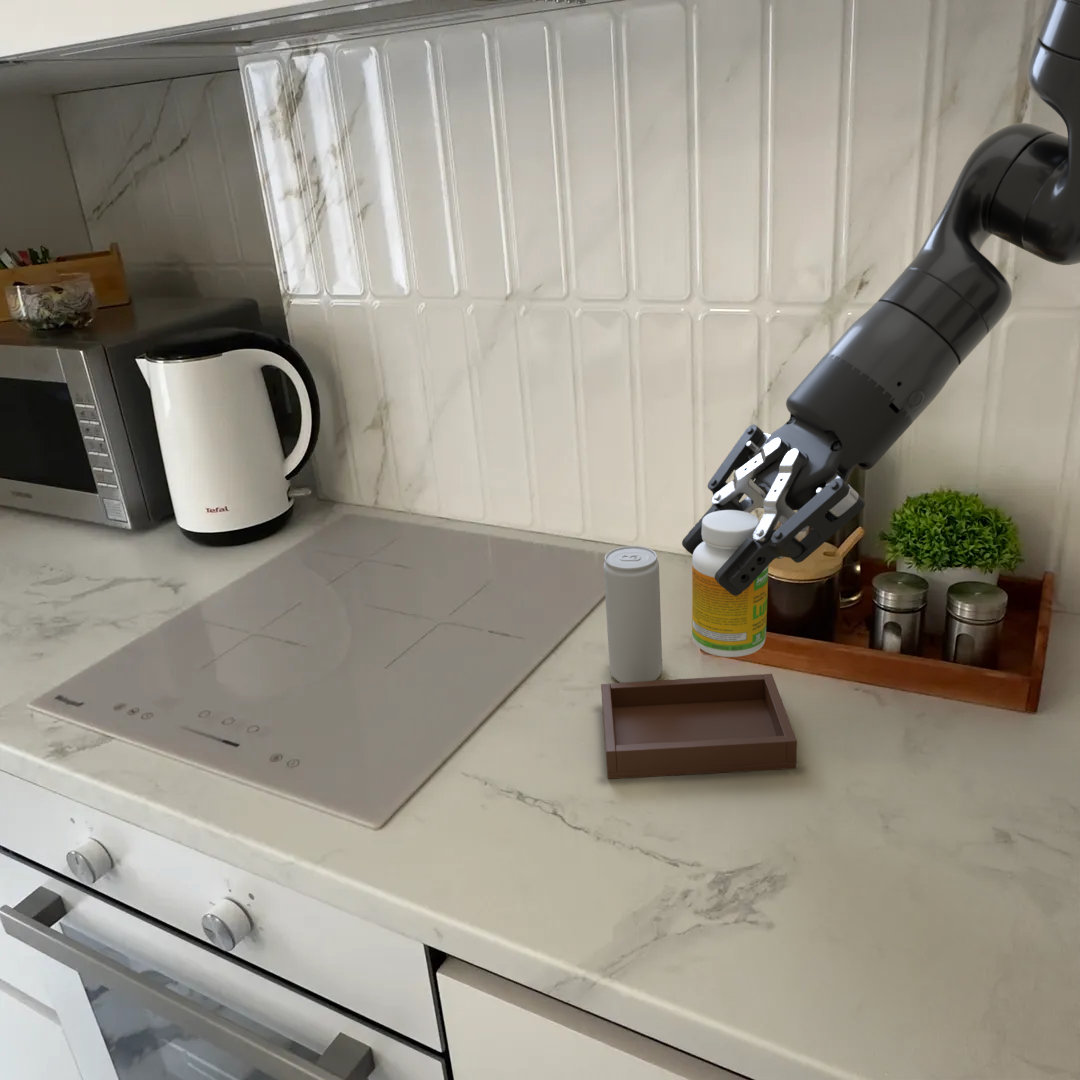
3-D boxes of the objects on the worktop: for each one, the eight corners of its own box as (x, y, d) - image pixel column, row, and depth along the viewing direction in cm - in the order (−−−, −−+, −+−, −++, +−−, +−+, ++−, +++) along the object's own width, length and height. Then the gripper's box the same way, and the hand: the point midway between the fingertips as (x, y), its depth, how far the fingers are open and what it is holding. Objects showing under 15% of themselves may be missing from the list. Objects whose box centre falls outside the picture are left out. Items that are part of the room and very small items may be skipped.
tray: (771, 699, 84) (772, 673, 83) (796, 768, 75) (797, 741, 74) (602, 709, 85) (600, 683, 84) (607, 779, 76) (605, 751, 75)
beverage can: (661, 689, 87) (657, 568, 82) (607, 688, 88) (600, 569, 83) (663, 660, 91) (659, 544, 86) (612, 660, 92) (605, 545, 87)
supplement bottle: (764, 662, 69) (768, 537, 65) (687, 656, 71) (687, 533, 67) (767, 625, 74) (771, 507, 70) (696, 620, 75) (696, 504, 71)
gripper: (787, 331, 72) (637, 506, 74) (900, 376, 59) (713, 585, 61) (848, 392, 75) (701, 558, 78) (966, 448, 62) (787, 643, 65)
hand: (707, 569), depth 69 cm, fingers closed on supplement bottle, 5 cm apart
